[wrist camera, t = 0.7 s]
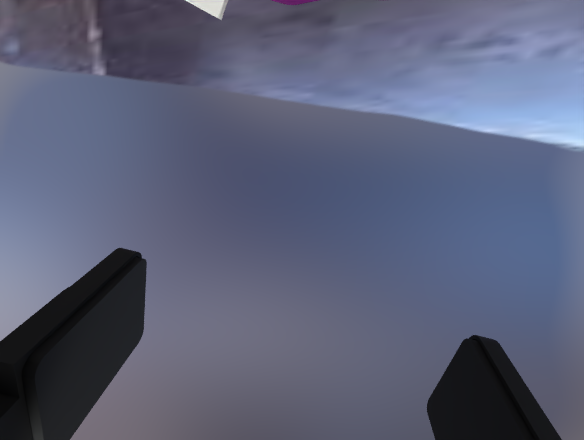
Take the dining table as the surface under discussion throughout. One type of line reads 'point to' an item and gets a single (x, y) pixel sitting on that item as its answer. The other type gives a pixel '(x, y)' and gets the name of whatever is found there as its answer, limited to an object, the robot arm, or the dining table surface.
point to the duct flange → (211, 6)
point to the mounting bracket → (293, 1)
